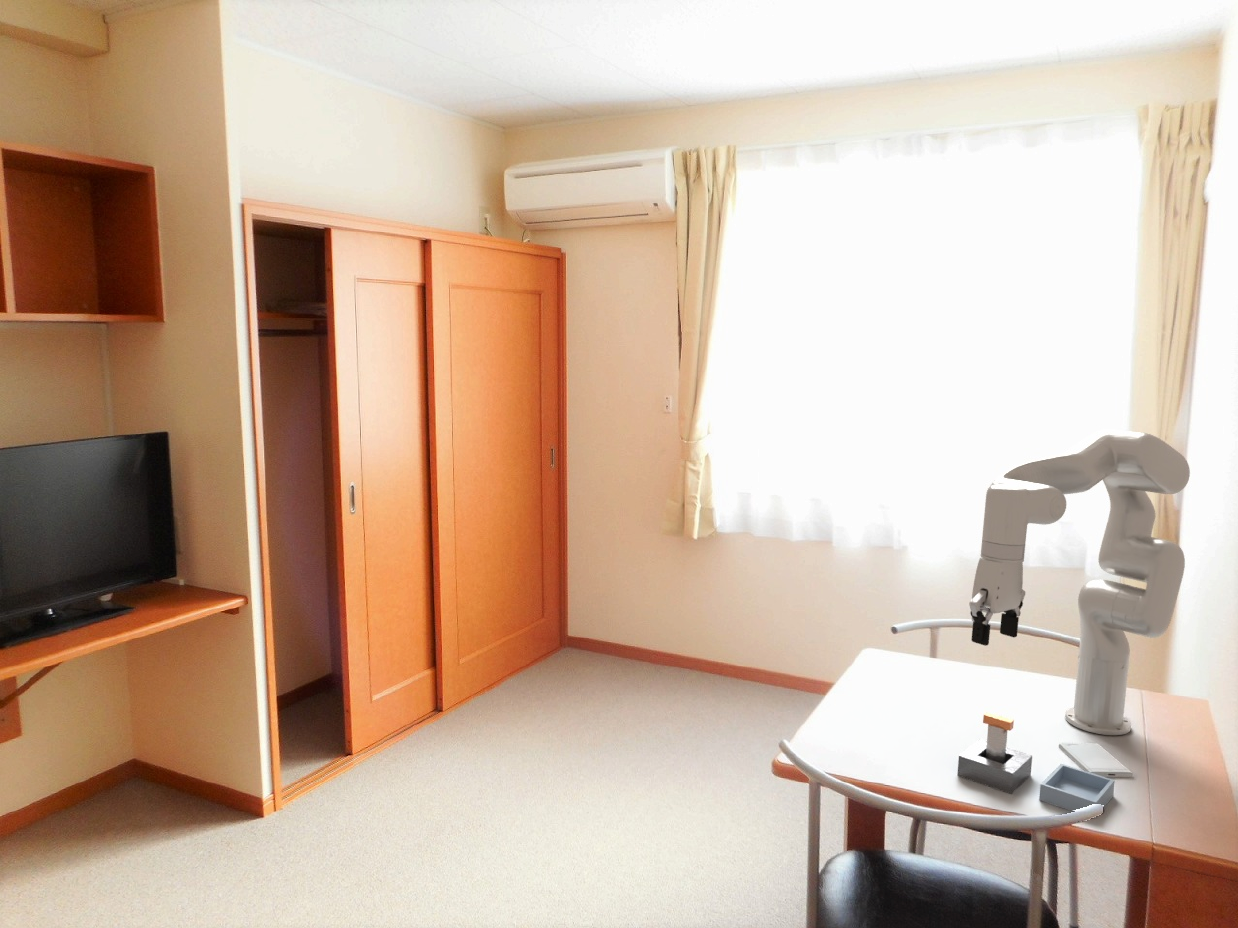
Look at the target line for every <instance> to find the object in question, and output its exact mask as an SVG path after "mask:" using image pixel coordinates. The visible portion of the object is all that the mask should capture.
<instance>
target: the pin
mask: <svg viewBox="0 0 1238 928" xmlns="http://www.w3.org/2000/svg"><path fill="white" fill-rule="evenodd" d="M1014 721H1015V720H1014V719H1011V718H1007V717H1004V716H1001V715H997V714H995V713H991V712H986V713H984V714H983V719H982V723H983V724H986V725H988V726H987V739H986V741H987V747H986V759H989V760H993V761H996V762H999V763H1002V764H1005V756H1006V747H1007V743H1008V742H1007V741H1008V731H1012V730H1013V729H1014Z"/></svg>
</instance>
